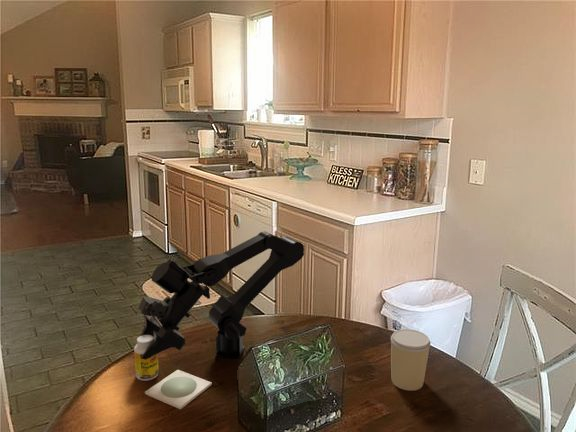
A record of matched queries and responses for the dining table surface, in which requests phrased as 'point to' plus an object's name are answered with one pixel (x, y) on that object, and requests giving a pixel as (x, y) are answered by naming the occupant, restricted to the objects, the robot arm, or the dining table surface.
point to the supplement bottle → (145, 367)
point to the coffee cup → (409, 358)
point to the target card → (178, 389)
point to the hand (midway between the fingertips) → (140, 353)
